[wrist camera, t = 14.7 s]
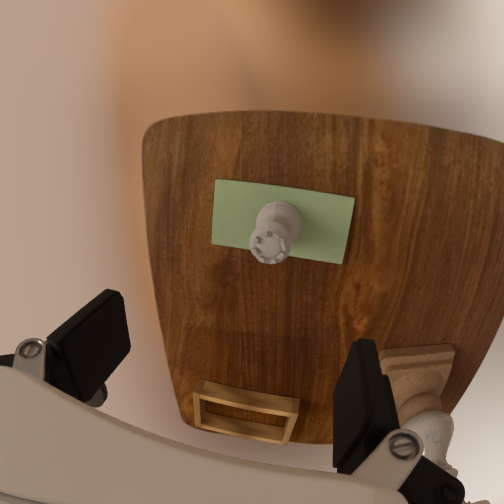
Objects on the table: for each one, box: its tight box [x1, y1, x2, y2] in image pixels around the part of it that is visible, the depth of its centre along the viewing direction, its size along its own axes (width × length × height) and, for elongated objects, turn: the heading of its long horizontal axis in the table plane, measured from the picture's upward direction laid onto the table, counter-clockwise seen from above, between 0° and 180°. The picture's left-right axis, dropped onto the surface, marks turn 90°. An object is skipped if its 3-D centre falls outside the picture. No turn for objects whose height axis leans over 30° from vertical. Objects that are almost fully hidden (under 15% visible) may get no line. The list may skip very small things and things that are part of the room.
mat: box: [212, 179, 355, 264], centre depth 29 cm, size 14×7×1 cm, turn 85°
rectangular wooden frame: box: [193, 379, 300, 445], centre depth 39 cm, size 15×9×3 cm, turn 85°
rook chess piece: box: [249, 201, 302, 264], centre depth 25 cm, size 4×4×8 cm
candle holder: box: [378, 344, 490, 504], centre depth 22 cm, size 11×11×24 cm
